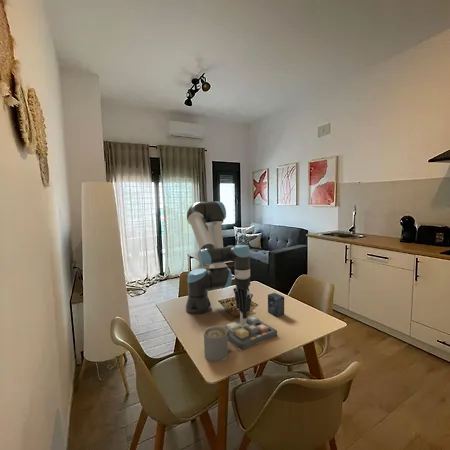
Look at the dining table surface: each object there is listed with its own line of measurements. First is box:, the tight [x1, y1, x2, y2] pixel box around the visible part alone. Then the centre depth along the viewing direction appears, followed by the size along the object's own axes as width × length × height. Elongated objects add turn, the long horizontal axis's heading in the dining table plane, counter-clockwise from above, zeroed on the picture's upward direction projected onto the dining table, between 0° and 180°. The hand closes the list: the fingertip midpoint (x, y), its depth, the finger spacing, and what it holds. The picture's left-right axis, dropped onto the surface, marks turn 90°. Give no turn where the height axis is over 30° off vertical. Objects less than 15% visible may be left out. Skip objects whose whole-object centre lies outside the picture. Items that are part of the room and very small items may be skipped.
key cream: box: [226, 321, 240, 332], centre depth 124 cm, size 4×4×2 cm
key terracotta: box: [257, 324, 269, 334], centre depth 125 cm, size 4×4×2 cm
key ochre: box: [235, 328, 249, 339], centre depth 118 cm, size 4×4×2 cm
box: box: [267, 292, 285, 318], centre depth 146 cm, size 8×6×11 cm
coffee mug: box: [203, 325, 230, 362], centre depth 110 cm, size 13×10×10 cm
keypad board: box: [223, 318, 278, 351], centre depth 125 cm, size 18×21×3 cm
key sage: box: [238, 323, 249, 329], centre depth 128 cm, size 4×4×2 cm
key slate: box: [246, 315, 260, 325], centre depth 131 cm, size 4×4×2 cm
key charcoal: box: [246, 324, 259, 335], centre depth 122 cm, size 4×4×2 cm
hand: (243, 323), depth 127 cm, fingers closed
